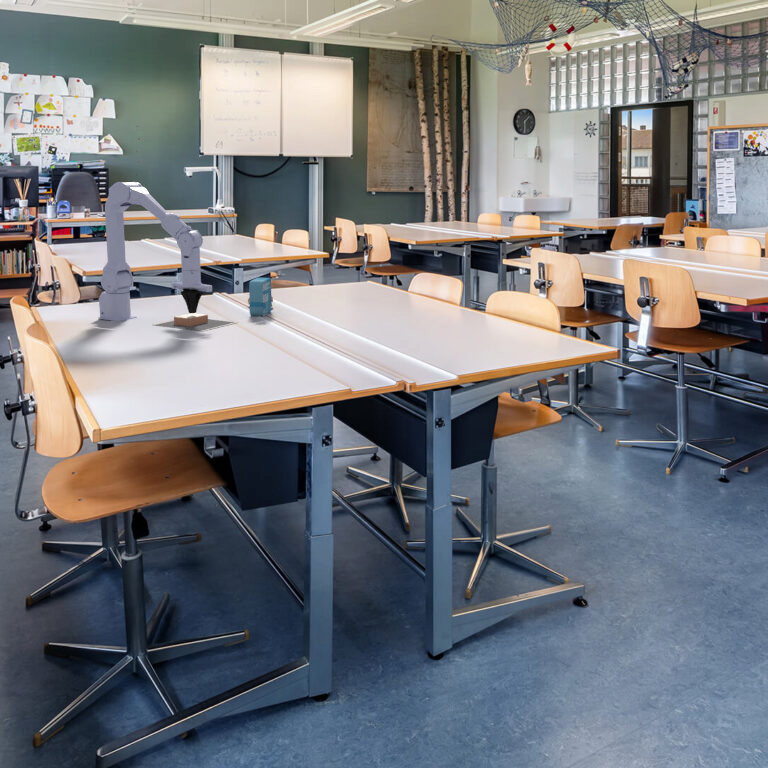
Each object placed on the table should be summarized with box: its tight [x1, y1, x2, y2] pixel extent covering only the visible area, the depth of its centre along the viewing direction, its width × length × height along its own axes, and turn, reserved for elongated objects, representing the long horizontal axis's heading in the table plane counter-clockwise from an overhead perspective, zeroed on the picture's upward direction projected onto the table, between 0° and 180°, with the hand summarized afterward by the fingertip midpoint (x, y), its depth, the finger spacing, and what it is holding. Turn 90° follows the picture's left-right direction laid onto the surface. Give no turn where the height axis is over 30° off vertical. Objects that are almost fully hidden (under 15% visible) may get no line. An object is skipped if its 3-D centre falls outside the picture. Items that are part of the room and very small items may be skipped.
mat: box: [152, 318, 239, 333], centre depth 261 cm, size 20×18×1 cm
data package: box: [248, 277, 272, 317], centre depth 283 cm, size 12×4×12 cm, turn 173°
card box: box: [173, 312, 209, 326], centre depth 261 cm, size 2×9×6 cm
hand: (192, 312), depth 260 cm, fingers closed
